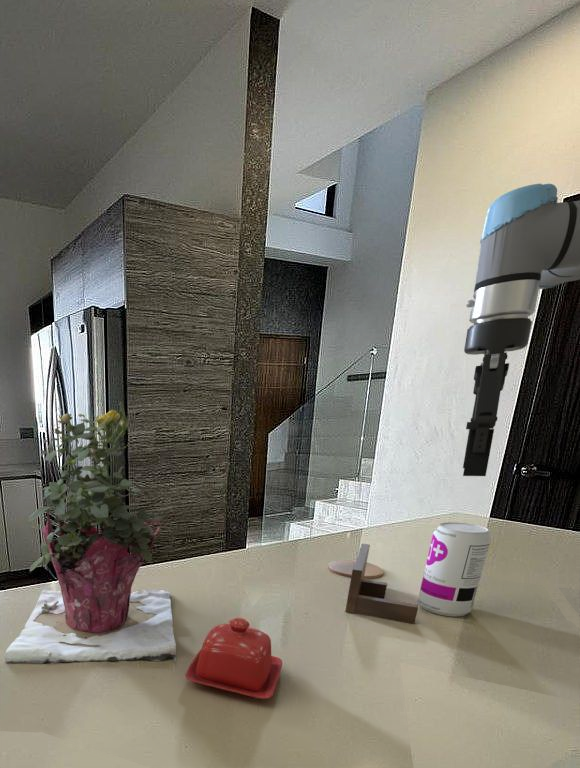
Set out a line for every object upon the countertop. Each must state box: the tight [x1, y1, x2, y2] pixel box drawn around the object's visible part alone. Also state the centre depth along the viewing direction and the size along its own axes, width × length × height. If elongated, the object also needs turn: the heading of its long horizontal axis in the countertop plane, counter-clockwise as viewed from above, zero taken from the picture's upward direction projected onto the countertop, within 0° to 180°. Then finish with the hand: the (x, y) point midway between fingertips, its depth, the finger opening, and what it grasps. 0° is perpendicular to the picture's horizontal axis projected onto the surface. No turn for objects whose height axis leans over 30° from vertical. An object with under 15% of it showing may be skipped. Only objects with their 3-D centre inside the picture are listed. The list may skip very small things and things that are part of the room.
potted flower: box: [4, 401, 177, 665], centre depth 74 cm, size 27×25×35 cm
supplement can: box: [417, 521, 492, 617], centre depth 83 cm, size 8×8×15 cm
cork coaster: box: [327, 559, 384, 580], centre depth 105 cm, size 11×11×1 cm
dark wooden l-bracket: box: [344, 543, 419, 625], centre depth 88 cm, size 11×18×8 cm, turn 151°
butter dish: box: [184, 617, 283, 700], centre depth 64 cm, size 12×12×8 cm
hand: (473, 472), depth 76 cm, fingers open, 13 cm apart
